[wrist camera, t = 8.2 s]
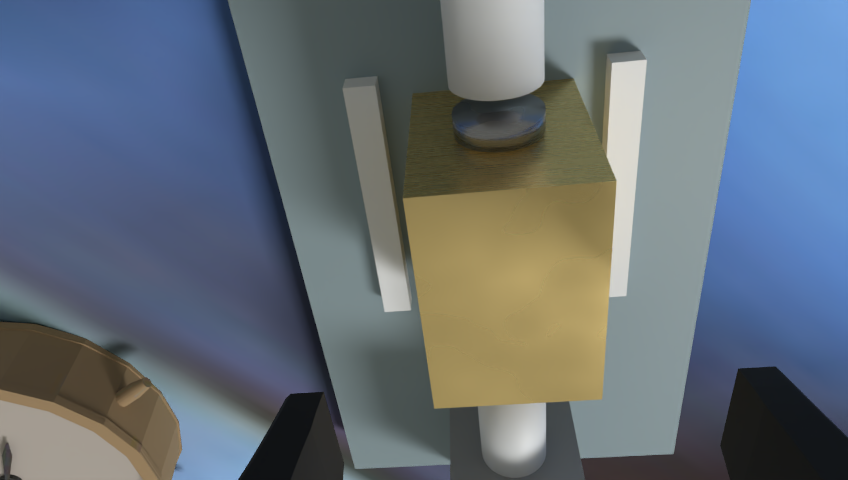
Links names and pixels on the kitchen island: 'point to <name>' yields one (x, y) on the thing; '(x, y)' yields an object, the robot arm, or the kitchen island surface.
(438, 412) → the long grey base plate
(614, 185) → the block
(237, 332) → the kitchen island surface
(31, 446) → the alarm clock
